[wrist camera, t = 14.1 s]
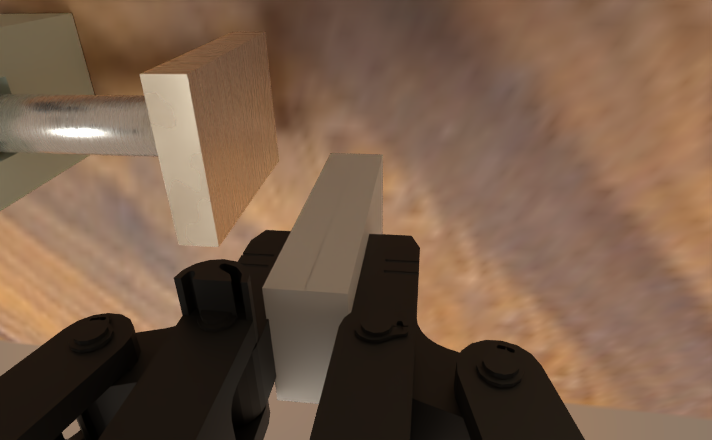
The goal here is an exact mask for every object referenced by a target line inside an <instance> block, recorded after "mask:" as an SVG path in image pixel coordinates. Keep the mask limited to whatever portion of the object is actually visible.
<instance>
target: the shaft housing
mask: <svg viewBox="0 0 712 440" xmlns="http://www.w3.org/2000/svg"><path fill="white" fill-rule="evenodd" d="M0 94H46V95H94V91H93V87H92V84H91V80H90V77H89V73H88V69H87V66H86V62H85V59H84V55H83V51H82V48H81V44H80V41H79V37H78V33H77V30H76V26H75V23H74V19H73V15H72V13H34V14H0ZM88 156H89V155H83V154H49V153H14V152H0V211H1V210H3V209H5V208H6V207H8V206H9V205H11V204H13V203H14V202H16V201H17V200H19V199H21V198H22V197H24V196H25V195H27V194H29V193H30V192H32V191H33V190H35V189H37V188H38V187H40V186H41V185H43V184H45V183H46V182H48V181H49V180H51V179H53V178H54V177H56V176H57V175H59V174H61V173H62V172H64V171H65V170H67V169H69V168H70V167H72V166H73V165H75V164H77V163H78V162H80V161H81V160H83V159H85V158H86V157H88Z"/></svg>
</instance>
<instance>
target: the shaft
mask: <svg viewBox="0 0 712 440" xmlns="http://www.w3.org/2000/svg"><path fill="white" fill-rule="evenodd" d="M139 75H140V79H141V83H142V88H143V92H144V96H126V95H46V94H0V152H14V153H49V154H83V155H118V156H153V157H159V162H160V166H161V170H162V175H163V179H164V183H165V188H166V192H167V196H168V201H169V205H170V209H171V214H172V218H173V223H174V227H175V231H176V236H177V240H178V244H179V245H189V246H208V247H219V246H220V245H221V243H222V242H223V240H224V239H225V238H226V236H227V235H228V233H229V232H230V230H231V229H232V228H233V226H234V225H235V223H236V222H237V220H238V219H239V217H240V216H241V215H242V213H243V212H244V210H245V209H246V207H247V206H248V205H249V203H250V202H251V200H252V199H253V197H254V196H255V195H256V193H257V192H258V190H259V189H260V187H261V186H262V185H263V183H264V182H265V180H266V179H267V177H268V176H269V174H270V173H271V172H272V170H273V169H274V167H275V166H276V164H277V163H278V162H279V156H278V147H277V137H276V128H275V118H274V109H273V99H272V90H271V80H270V71H269V61H268V52H267V42H266V33H265V32H231V33H229V34H227V35H224V36H222V37H220V38H218V39H216V40H213V41H211V42H209V43H207V44H204V45H202V46H200V47H198V48H196V49H193V50H191V51H189V52H187V53H185V54H182V55H180V56H178V57H176V58H174V59H171V60H169V61H167V62H165V63H163V64H160V65H158V66H156V67H154V68H151V69H149V70H147V71H145V72H143V73H140V74H139Z"/></svg>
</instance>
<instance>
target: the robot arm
mask: <svg viewBox="0 0 712 440" xmlns="http://www.w3.org/2000/svg"><path fill="white" fill-rule="evenodd" d="M382 228H383V155H378V154H343V153H331V154H330V156H329V158H328V160H327V162H326V164H325V166H324V168H323V169H322V171H321V173H320V175H319V177H318V179H317V181H316V183H315V185H314V187H313V189H312V191H311V193H310V195H309V197H308V199H307V201H306V203H305V205H304V207H303V209H302V211H301V213H300V215H299V217H298V219H297V221H296V223H295V225H294V227H293V228H292V230H291V231H274V230H265V231H264V232H263V233H261V234H260V235H258V236H257V237H255V238H254V239H252V240H251V241H250V243H249V244H248V246H247V248H246V249H245V251H244V252H243V255H242V256H241V257H240V259H239V260H238V262H236V261H231V260H225V259H221V260H208V261H204V262H200V263H197V264H194V265H192V266H190V267H188V268H186V269H184V270H182V271H181V272H180V273H179V274H178V275H177V276H175V277H174V281H175V285H176V289H177V293H178V298H179V302H180V306H181V310H182V315H183V316H182V318H181V319H180V320H179V322H178V323H177V325H176V326H174V327H170V328H165V329H158V330H152V331H145V332H138V333H135V330H134V326H133V324H132V322H131V320H130V319H129V318H127V317H125V316H123V315H121V314H112V313H106V314H99V315H93V316H90V317H87V318H84V319H82V320H79V321H77V322H75V323H73V324H72V325H70V326H68V327H67V328H65V329H63V330H62V331H61V332H59V333H58V334H57V335H55V336H54V337H53V338H51V339H50V340H49V341H47V342H46V343H45V344H43V345H42V346H41V347H39V348H38V349H37V350H35V351H34V352H33V353H31V354H30V355H29V356H27V357H26V358H24V359H23V360H22V361H20V362H19V363H18V364H16V365H15V366H14V367H12V368H11V369H10V370H8V371H7V372H6V373H4V374H3V375H2V376H0V440H263V439H264V436H265V433H266V430H267V427H268V424H269V417H270V410H269V403H268V398H269V395H270V392H271V390H272V387H273V385H274V382H275V385H276V393H277V400H284V401H294V402H304V403H315V404H319V406H318V409H317V413H316V417H315V421H314V425H313V428H312V432H311V436H310V440H585V439H584V438H583V436H582V434H581V432H580V430H579V429H578V427H577V425H576V424H575V422H574V420H573V419H572V417H571V415H570V413H569V412H568V410H567V408H566V407H565V405H564V403H563V401H562V400H561V398H560V396H559V395H558V393H557V391H556V390H555V388H554V386H553V384H552V383H551V381H550V379H549V378H548V376H547V374H546V372H545V371H544V369H543V367H542V366H541V364H540V363H539V362H538V361H537V360H536V359H535V358H534V356H533V355H532V354H530V353H529V352H527V351H526V350H524V349H522V348H521V347H519V346H517V345H514V344H511V343H507V342H504V341H496V340H484V341H480V342H476V343H472V344H470V345H469V346H467V347H466V348H465V349H463V350H462V351H461V353H459V352H456V351H453V350H450V349H447V348H445V347H442V346H440V345H438V344H436V343H434V342H433V341H431V340H430V339H428V338H427V337H426V336H425V335H424V334H423V332H422V331H421V330H420V328H419V326H418V324H417V300H418V278H419V255H420V247H419V246H418V244H417V243H416V242H415V240H414V239H413V237H412V236H405V235H385V234H382ZM75 419H77V422H78V424H79V426H80V429H81V430H80V431H79V432H78V433H76V434H75V435H73V436H72V437H71V438H69V439H64V437H63V434H62V432H63V430H65V429H66V428H67V427H68V426H69V425H70V424H71V423H72V422H73V421H74V420H75Z"/></svg>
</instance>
